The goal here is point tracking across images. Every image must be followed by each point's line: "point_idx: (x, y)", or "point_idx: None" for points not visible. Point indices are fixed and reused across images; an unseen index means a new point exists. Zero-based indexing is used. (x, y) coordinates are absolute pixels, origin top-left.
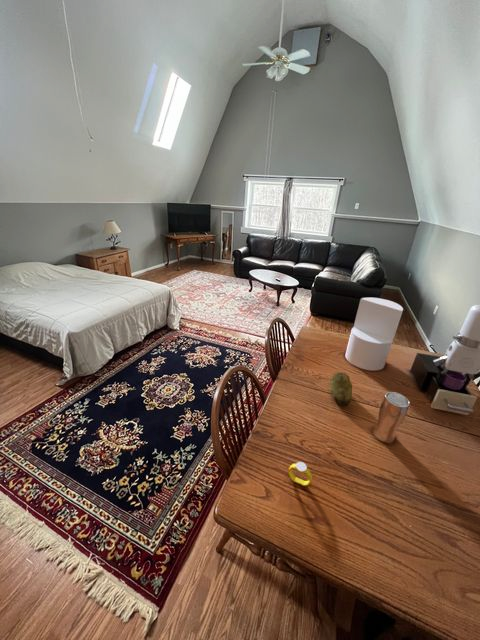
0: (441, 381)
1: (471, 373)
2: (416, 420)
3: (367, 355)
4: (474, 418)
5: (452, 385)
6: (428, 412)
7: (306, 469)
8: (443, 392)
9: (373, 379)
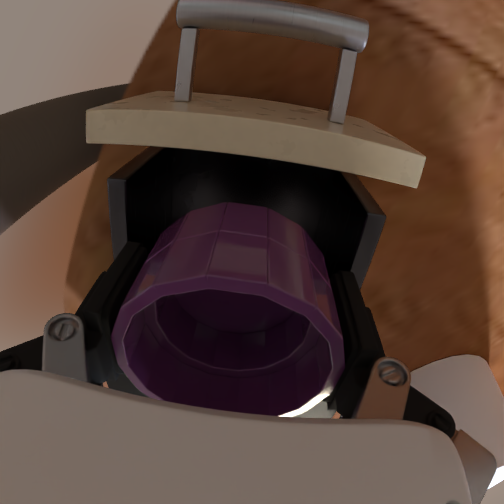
0: (351, 284)
1: (60, 386)
2: (473, 41)
3: (497, 405)
4: (124, 93)
5: (279, 232)
6: (386, 94)
7: None
8: (390, 145)
9: (486, 307)
